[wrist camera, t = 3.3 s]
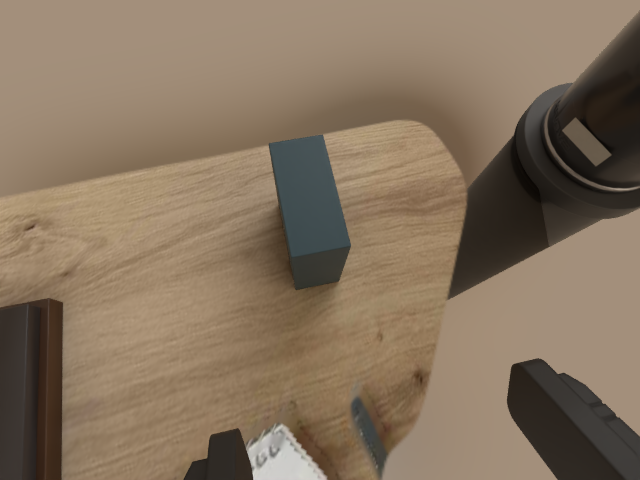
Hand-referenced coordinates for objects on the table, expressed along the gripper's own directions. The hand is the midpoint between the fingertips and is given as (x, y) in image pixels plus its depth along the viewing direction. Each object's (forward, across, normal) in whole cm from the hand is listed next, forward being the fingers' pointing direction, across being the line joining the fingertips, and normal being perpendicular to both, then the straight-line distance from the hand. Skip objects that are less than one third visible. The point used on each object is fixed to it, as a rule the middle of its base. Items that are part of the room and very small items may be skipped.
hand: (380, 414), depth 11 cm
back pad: (+18, 0, +3) cm, 18 cm away
